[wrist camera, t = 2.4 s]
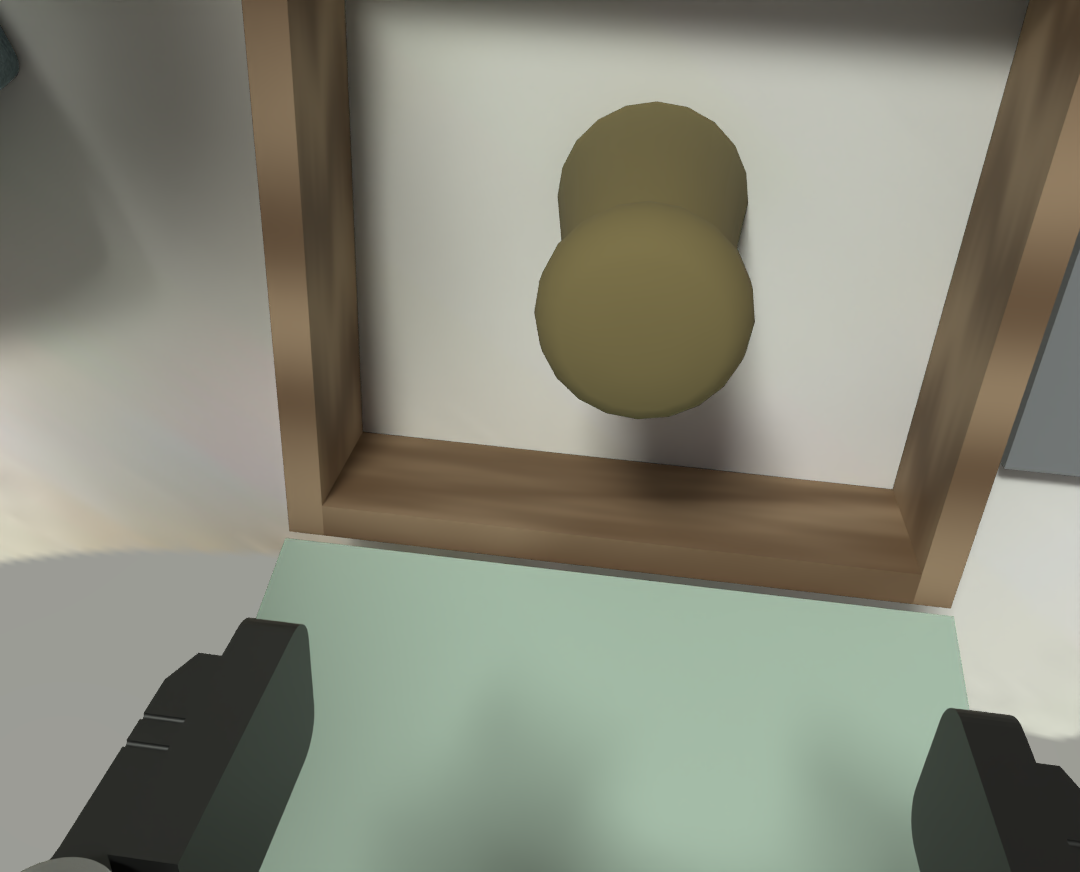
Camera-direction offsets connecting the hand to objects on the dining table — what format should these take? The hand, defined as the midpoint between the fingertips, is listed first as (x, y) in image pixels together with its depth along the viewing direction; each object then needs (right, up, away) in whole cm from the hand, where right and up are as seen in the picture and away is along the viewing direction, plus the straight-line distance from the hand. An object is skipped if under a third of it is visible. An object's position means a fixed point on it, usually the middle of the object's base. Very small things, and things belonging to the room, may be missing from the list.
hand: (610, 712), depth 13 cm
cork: (+3, +11, +19) cm, 23 cm away
